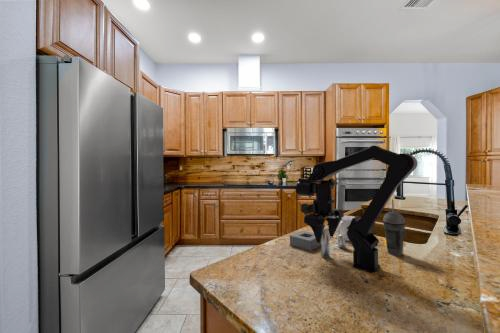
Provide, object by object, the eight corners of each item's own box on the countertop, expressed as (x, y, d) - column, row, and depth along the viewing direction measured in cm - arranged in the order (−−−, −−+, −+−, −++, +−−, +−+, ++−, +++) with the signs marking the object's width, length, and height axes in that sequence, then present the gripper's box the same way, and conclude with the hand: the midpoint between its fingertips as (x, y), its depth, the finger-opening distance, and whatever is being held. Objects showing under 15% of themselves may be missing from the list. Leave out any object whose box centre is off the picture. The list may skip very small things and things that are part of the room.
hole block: (323, 244, 97) (323, 235, 97) (310, 250, 90) (310, 240, 90) (303, 239, 104) (303, 230, 104) (289, 244, 97) (289, 235, 97)
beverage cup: (385, 255, 83) (383, 200, 83) (382, 249, 90) (380, 198, 90) (408, 258, 80) (407, 201, 80) (403, 251, 87) (402, 198, 87)
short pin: (347, 247, 93) (346, 235, 93) (343, 249, 91) (343, 236, 91) (339, 245, 95) (339, 233, 95) (336, 247, 93) (336, 235, 93)
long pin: (331, 256, 84) (330, 229, 84) (327, 258, 82) (326, 230, 82) (323, 254, 86) (323, 227, 86) (319, 256, 84) (318, 229, 84)
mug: (346, 234, 111) (345, 214, 111) (363, 239, 103) (362, 218, 103) (328, 238, 105) (327, 217, 105) (344, 243, 97) (343, 221, 97)
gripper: (317, 193, 96) (319, 230, 96) (290, 198, 84) (292, 240, 84) (343, 195, 88) (344, 235, 88) (317, 200, 76) (319, 248, 75)
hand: (325, 239), depth 84 cm, fingers open, 9 cm apart
